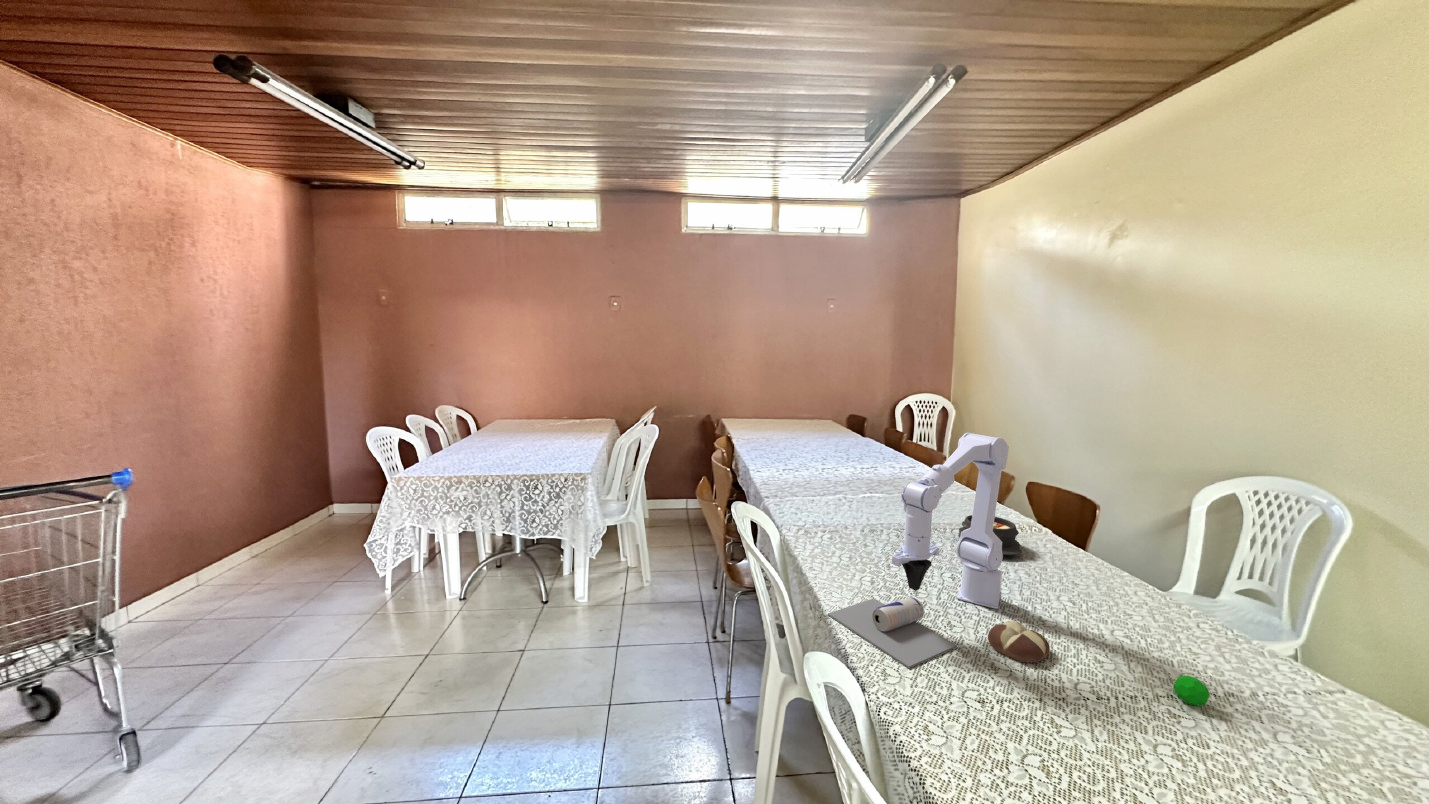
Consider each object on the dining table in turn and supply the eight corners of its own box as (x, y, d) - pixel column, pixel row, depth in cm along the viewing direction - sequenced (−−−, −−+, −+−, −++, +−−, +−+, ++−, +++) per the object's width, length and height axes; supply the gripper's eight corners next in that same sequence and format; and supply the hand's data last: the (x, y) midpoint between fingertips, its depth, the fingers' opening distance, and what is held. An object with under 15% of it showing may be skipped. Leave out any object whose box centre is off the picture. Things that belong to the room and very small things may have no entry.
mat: (873, 600, 135) (873, 598, 135) (957, 647, 114) (957, 645, 114) (827, 615, 127) (827, 613, 127) (908, 668, 106) (908, 666, 106)
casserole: (945, 531, 187) (947, 508, 186) (998, 533, 186) (1000, 510, 185) (976, 559, 162) (978, 533, 162) (1037, 562, 162) (1039, 536, 161)
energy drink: (905, 595, 127) (869, 606, 122) (922, 598, 123) (887, 610, 117) (908, 617, 127) (873, 629, 121) (926, 621, 122) (891, 634, 116)
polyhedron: (1214, 708, 96) (1217, 684, 96) (1196, 713, 95) (1199, 689, 94) (1183, 691, 101) (1186, 668, 100) (1165, 695, 99) (1168, 672, 99)
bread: (978, 642, 117) (980, 621, 116) (1013, 632, 121) (1015, 611, 121) (1024, 670, 107) (1027, 648, 106) (1061, 658, 111) (1063, 636, 111)
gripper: (923, 523, 129) (919, 575, 131) (882, 533, 122) (879, 588, 123) (948, 532, 123) (944, 587, 125) (907, 543, 116) (903, 601, 117)
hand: (913, 588), depth 123 cm, fingers closed
